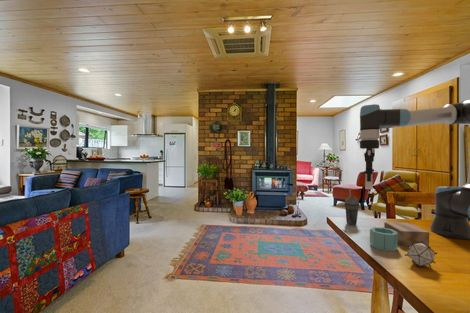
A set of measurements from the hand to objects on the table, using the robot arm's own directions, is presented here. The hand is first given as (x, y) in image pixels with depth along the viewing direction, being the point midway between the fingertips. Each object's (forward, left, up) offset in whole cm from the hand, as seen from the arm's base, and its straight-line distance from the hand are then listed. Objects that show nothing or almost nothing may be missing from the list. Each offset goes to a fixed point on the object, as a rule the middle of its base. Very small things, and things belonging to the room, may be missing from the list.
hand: (369, 187), depth 105 cm
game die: (-7, +23, -24) cm, 34 cm away
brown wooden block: (-16, 0, -23) cm, 28 cm away
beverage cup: (-1, -21, -24) cm, 32 cm away
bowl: (-2, +9, -24) cm, 25 cm away
